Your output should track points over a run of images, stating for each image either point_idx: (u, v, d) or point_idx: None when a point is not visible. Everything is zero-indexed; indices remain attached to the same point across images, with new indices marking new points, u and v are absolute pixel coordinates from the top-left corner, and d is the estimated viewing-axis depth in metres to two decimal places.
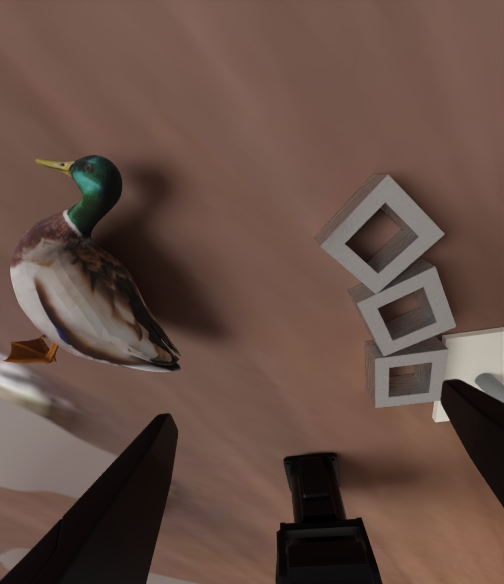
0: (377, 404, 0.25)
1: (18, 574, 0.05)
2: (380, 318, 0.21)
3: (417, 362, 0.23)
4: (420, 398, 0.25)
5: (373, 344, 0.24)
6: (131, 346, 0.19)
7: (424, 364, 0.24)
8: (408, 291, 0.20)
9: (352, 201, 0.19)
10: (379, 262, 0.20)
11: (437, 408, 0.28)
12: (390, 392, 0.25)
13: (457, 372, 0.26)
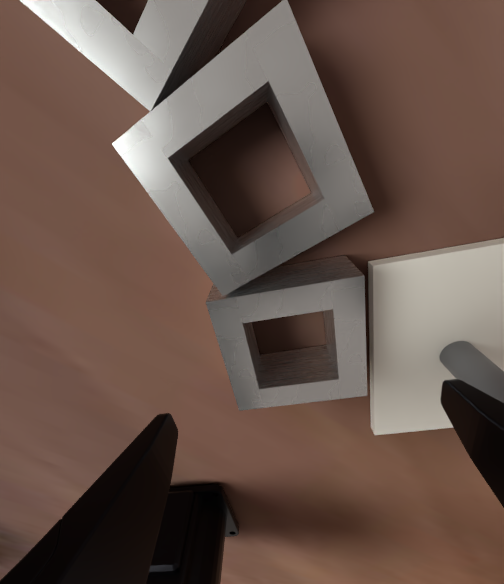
0: (241, 403, 0.12)
1: (18, 574, 0.05)
2: (184, 190, 0.08)
3: (300, 309, 0.10)
4: (322, 391, 0.12)
5: None
6: None
7: (329, 320, 0.12)
8: (232, 98, 0.07)
9: None
10: None
11: (374, 411, 0.15)
12: (267, 379, 0.12)
13: (404, 340, 0.13)
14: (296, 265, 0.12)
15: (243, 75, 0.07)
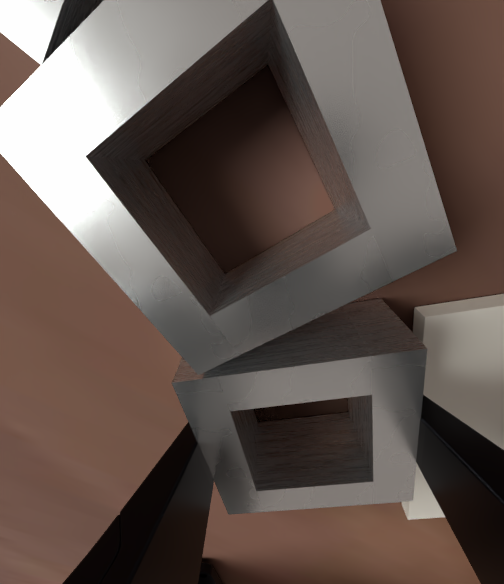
0: (230, 507, 0.09)
1: (86, 570, 0.05)
2: (122, 213, 0.05)
3: (320, 394, 0.07)
4: (348, 494, 0.08)
5: None
6: None
7: (359, 395, 0.08)
8: (199, 36, 0.04)
9: None
10: None
11: None
12: (268, 472, 0.09)
13: (460, 413, 0.09)
14: None
15: None
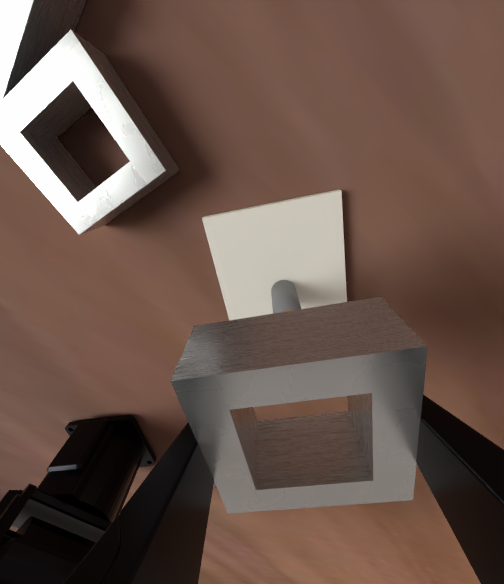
0: (230, 506, 0.09)
1: (86, 570, 0.05)
2: (35, 154, 0.12)
3: (320, 393, 0.06)
4: (348, 494, 0.08)
5: (208, 333, 0.08)
6: None
7: (359, 394, 0.08)
8: (52, 92, 0.11)
9: None
10: None
11: None
12: (267, 471, 0.09)
13: (241, 279, 0.17)
14: (310, 311, 0.08)
15: (56, 77, 0.11)
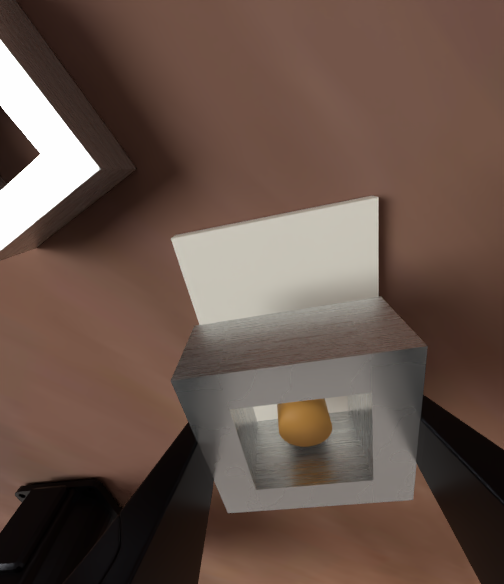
0: (230, 506, 0.09)
1: (86, 570, 0.05)
2: None
3: (320, 392, 0.06)
4: (348, 493, 0.08)
5: (208, 332, 0.08)
6: None
7: (359, 393, 0.08)
8: None
9: None
10: None
11: None
12: (267, 471, 0.09)
13: None
14: (309, 311, 0.08)
15: None
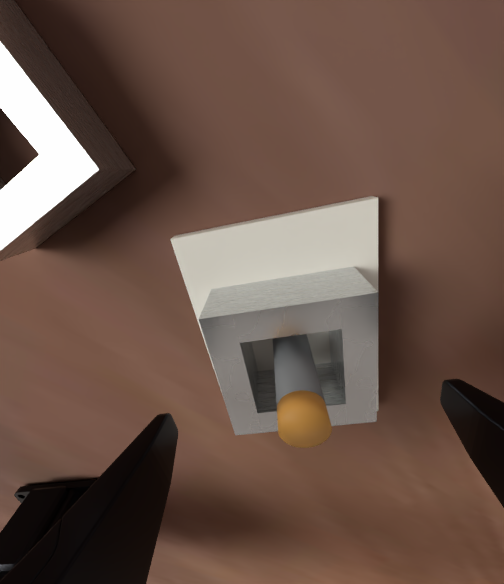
0: (237, 428, 0.11)
1: (18, 574, 0.05)
2: None
3: (305, 329, 0.09)
4: None
5: (222, 292, 0.11)
6: None
7: (335, 338, 0.10)
8: None
9: None
10: None
11: None
12: (266, 401, 0.11)
13: None
14: (300, 277, 0.11)
15: None
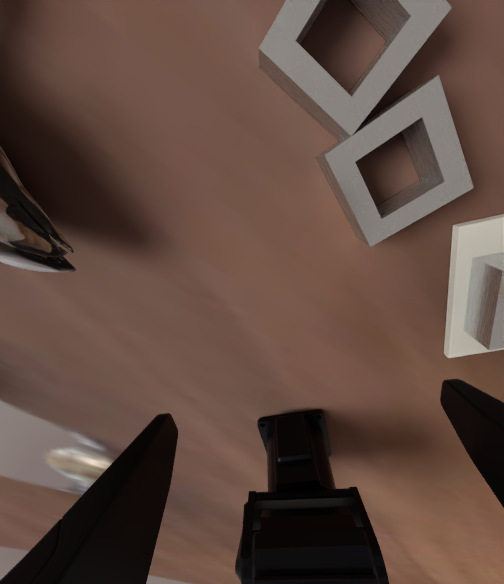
0: (492, 344, 0.18)
1: (18, 574, 0.05)
2: (361, 180, 0.14)
3: None
4: None
5: (488, 258, 0.17)
6: None
7: None
8: (399, 127, 0.13)
9: None
10: (355, 88, 0.14)
11: (449, 338, 0.21)
12: None
13: None
14: None
15: (408, 114, 0.13)
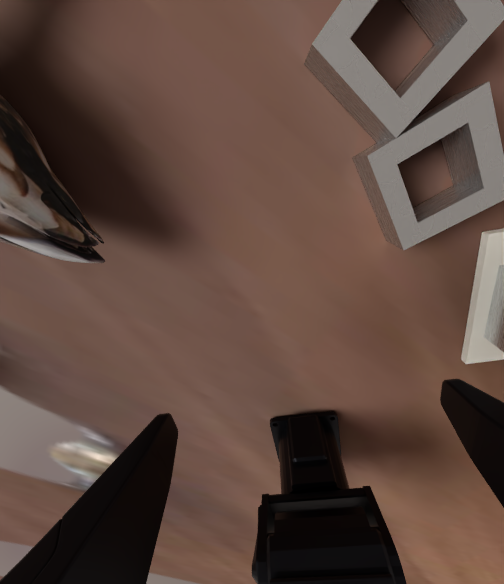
0: None
1: (18, 574, 0.05)
2: (401, 182, 0.14)
3: None
4: None
5: None
6: (7, 201, 0.12)
7: None
8: (445, 131, 0.13)
9: None
10: (402, 90, 0.13)
11: (469, 344, 0.21)
12: None
13: None
14: None
15: (455, 119, 0.13)
